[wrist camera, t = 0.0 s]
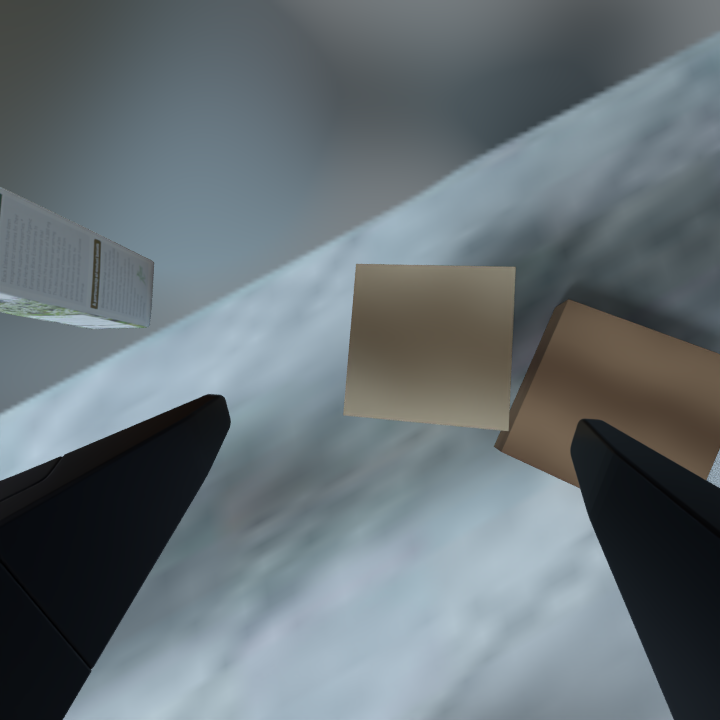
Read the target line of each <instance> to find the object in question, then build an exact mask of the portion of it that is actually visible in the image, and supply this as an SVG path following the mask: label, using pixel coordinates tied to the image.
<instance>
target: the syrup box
mask: <svg viewBox="0 0 720 720" xmlns="http://www.w3.org/2000/svg"><path fill="white" fill-rule="evenodd" d="M153 274H154V262H153V261H151V260H149V259H148V258H145V257H143V256H141V255H139V254H137V253H135V252H133V251H131V250H129V249H127V248H125V247H123V246H121V245H119V244H117V243H115V242H113V241H111V240H109V239H107V238H105V237H103V236H101V235H99V234H97V233H95V232H93V231H91V230H89V229H86V228H84V227H82V226H80V225H78V224H76V223H74V222H72V221H70V220H68V219H66V218H64V217H62V216H60V215H58V214H56V213H53V212H51V211H49V210H47V209H45V208H43V207H41V206H39V205H37V204H35V203H33V202H31V201H29V200H26V199H24V198H22V197H20V196H18V195H16V194H14V193H12V192H10V191H8V190H6V189H3V188H2V187H0V312H3V313H8V314H13V315H19V316H24V317H29V318H34V319H40V320H45V321H50V322H56V323H61V324H67V325H72V326H77V327H83V328H89V329H111V328H144V327H145V328H146V327H149V324H150V317H151V306H152V289H153Z"/></svg>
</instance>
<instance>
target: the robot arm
mask: <svg viewBox="0 0 720 720" xmlns="http://www.w3.org/2000/svg"><path fill="white" fill-rule="evenodd" d="M230 423H231V420H230V415H229V411H228V408H227V404H226V400H225V398H224V397H223V396H222V395H215V394H207V395H205V396H202V397H200V398H198V399H195V400H193V401H191V402H188V403H186V404H183V405H181V406H179V407H176V408H174V409H172V410H169V411H167V412H164V413H162V414H160V415H157V416H155V417H153V418H150V419H148V420H146V421H143V422H141V423H138V424H136V425H134V426H131V427H129V428H127V429H124V430H122V431H119V432H117V433H115V434H112V435H110V436H108V437H105V438H103V439H100V440H98V441H96V442H93V443H91V444H89V445H86V446H84V447H82V448H79V449H77V450H74V451H72V452H70V453H67V454H65V455H64V456H63V457H58V458H55V459H53V460H51V461H48V462H46V463H43V464H41V465H39V466H36V467H34V468H31V469H29V470H26V471H24V472H22V473H19V474H17V475H14V476H12V477H9V478H7V479H4V480H1V481H0V720H63V718H64V717H65V715H66V713H67V712H68V710H69V708H70V707H71V705H72V703H73V702H74V700H75V698H76V696H77V695H78V693H79V691H80V690H81V688H82V686H83V685H84V683H85V681H86V680H87V678H88V676H89V675H90V673H91V669H92V668H93V667H94V666H95V664H96V662H97V661H98V659H99V657H100V656H101V654H102V652H103V651H104V649H105V647H106V645H107V644H108V642H109V640H110V639H111V637H112V635H113V634H114V632H115V630H116V629H117V627H118V625H119V624H120V622H121V620H122V619H123V617H124V615H125V613H126V612H127V610H128V608H129V607H130V605H131V603H132V602H133V600H134V598H135V597H136V595H137V593H138V592H139V590H140V588H141V587H142V585H143V583H144V581H145V580H146V578H147V576H148V575H149V573H150V571H151V570H152V568H153V566H154V565H155V563H156V561H157V560H158V558H159V556H160V555H161V553H162V551H163V549H164V548H165V546H166V544H167V543H168V541H169V539H170V538H171V536H172V534H173V533H174V531H175V529H176V528H177V526H178V524H179V523H180V521H181V519H182V517H183V516H184V514H185V512H186V511H187V509H188V507H189V506H190V504H191V502H192V501H193V499H194V497H195V496H196V494H197V492H198V491H199V489H200V487H201V485H202V484H203V482H204V480H205V478H206V477H207V475H208V473H209V471H210V469H211V467H212V465H213V463H214V460H215V458H216V456H217V454H218V452H219V450H220V447H221V445H222V443H223V441H224V439H225V437H226V435H227V432H228V430H229V428H230ZM570 454H571V458H572V462H573V465H574V469H575V472H576V475H577V479H578V482H579V486H580V489H581V493H582V496H583V499H584V503H585V506H586V509H587V513H588V516H589V518H590V521H591V523H592V526H593V528H594V531H595V533H596V536H597V538H598V540H599V543H600V545H601V547H602V550H603V552H604V555H605V557H606V559H607V562H608V564H609V567H610V569H611V571H612V574H613V576H614V578H615V581H616V583H617V586H618V588H619V590H620V593H621V595H622V597H623V600H624V602H625V605H626V607H627V609H628V612H629V614H630V616H631V619H632V621H633V624H634V626H635V628H636V631H637V633H638V635H639V638H640V640H641V643H642V645H643V647H644V650H645V652H646V654H647V657H648V659H649V662H650V664H651V666H652V669H653V671H654V674H655V676H656V678H657V681H658V683H659V685H660V688H661V690H662V693H663V695H664V697H665V700H666V702H667V704H668V707H669V709H670V712H671V714H672V716H673V719H674V720H720V488H719V487H717V486H715V485H713V484H712V483H710V482H708V481H707V480H705V479H703V478H701V477H700V476H698V475H696V474H694V473H693V472H691V471H689V470H687V469H686V468H684V467H682V466H681V465H679V464H677V463H675V462H674V461H672V460H670V459H668V458H667V457H665V456H663V455H662V454H660V453H658V452H656V451H655V450H653V449H651V448H649V447H648V446H646V445H644V444H642V443H641V442H639V441H637V440H636V439H634V438H632V437H630V436H629V435H627V434H625V433H623V432H622V431H620V430H618V429H616V428H615V427H613V426H611V425H610V424H608V423H606V422H604V421H603V420H599V419H581V420H580V421H579V422H578V424H577V427H576V430H575V433H574V437H573V440H572V443H571V447H570Z"/></svg>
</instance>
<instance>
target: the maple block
mask: <svg viewBox="0 0 720 720" xmlns="http://www.w3.org/2000/svg"><path fill="white" fill-rule="evenodd" d="M515 270H516V267H497V266H441V265H385V264H356V272H355V284H354V296H353V307H352V319H351V331H350V343H349V355H348V366H347V378H346V390H345V402H344V414H343V415H345V416H356V417H366V418H377V419H387V420H398V421H408V422H419V423H429V424H440V425H450V426H460V427H471V428H481V429H492V430H502V431H509V408H510V385H511V362H512V339H513V316H514V293H515Z"/></svg>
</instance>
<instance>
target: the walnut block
mask: <svg viewBox="0 0 720 720" xmlns="http://www.w3.org/2000/svg"><path fill="white" fill-rule="evenodd" d="M581 419H599V420H603V421H604V422H606V423H608V424H610V425H611V426H613V427H615V428H616V429H618V430H620V431H622V432H623V433H625V434H627V435H629V436H630V437H632V438H634V439H636V440H637V441H639V442H641V443H642V444H644V445H646V446H648V447H649V448H651V449H653V450H655V451H656V452H658V453H660V454H662V455H663V456H665V457H667V458H668V459H670V460H672V461H674V462H675V463H677V464H679V465H681V466H682V467H684V468H686V469H687V470H689V471H691V472H693V473H694V474H696V475H698V476H700V477H701V478H703V479H705V480H707V477H708V475H709V472H710V470H711V468H712V465H713V463H714V461H715V458H716V456H717V454H718V451H719V449H720V354H718V353H715V352H713V351H710V350H707V349H704V348H702V347H699V346H696V345H693V344H691V343H688V342H685V341H682V340H680V339H677V338H674V337H671V336H669V335H666V334H663V333H660V332H658V331H655V330H652V329H649V328H647V327H644V326H641V325H638V324H635V323H633V322H630V321H627V320H624V319H622V318H619V317H616V316H613V315H611V314H608V313H605V312H602V311H600V310H597V309H594V308H591V307H589V306H586V305H583V304H580V303H578V302H575V301H572V300H569V299H568V300H567V301H565V302H563V303H562V304H560V305H559V306H557V307H555V309H554V312H553V314H552V316H551V318H550V321H549V323H548V325H547V327H546V330H545V332H544V334H543V336H542V339H541V341H540V343H539V346H538V348H537V350H536V352H535V355H534V357H533V359H532V361H531V364H530V366H529V368H528V371H527V373H526V375H525V377H524V380H523V382H522V384H521V386H520V389H519V391H518V393H517V395H516V398H515V400H514V402H513V405H512V407H511V409H510V411H509V431H502V430H501V432H500V434H499V436H498V439H497V441H496V443H495V445H494V447H495V448H497V449H498V450H499V451H501V452H503V453H505V454H507V455H509V456H511V457H514V458H516V459H518V460H520V461H522V462H524V463H527V464H529V465H531V466H533V467H535V468H537V469H539V470H542V471H544V472H546V473H548V474H550V475H552V476H555V477H557V478H559V479H561V480H563V481H565V482H567V483H570V484H572V485H574V486H576V487H578V488H580V486H579V482H578V479H577V475H576V472H575V469H574V465H573V462H572V458H571V454H570V447H571V443H572V440H573V437H574V433H575V430H576V427H577V424H578V422H579V421H580V420H581Z"/></svg>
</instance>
